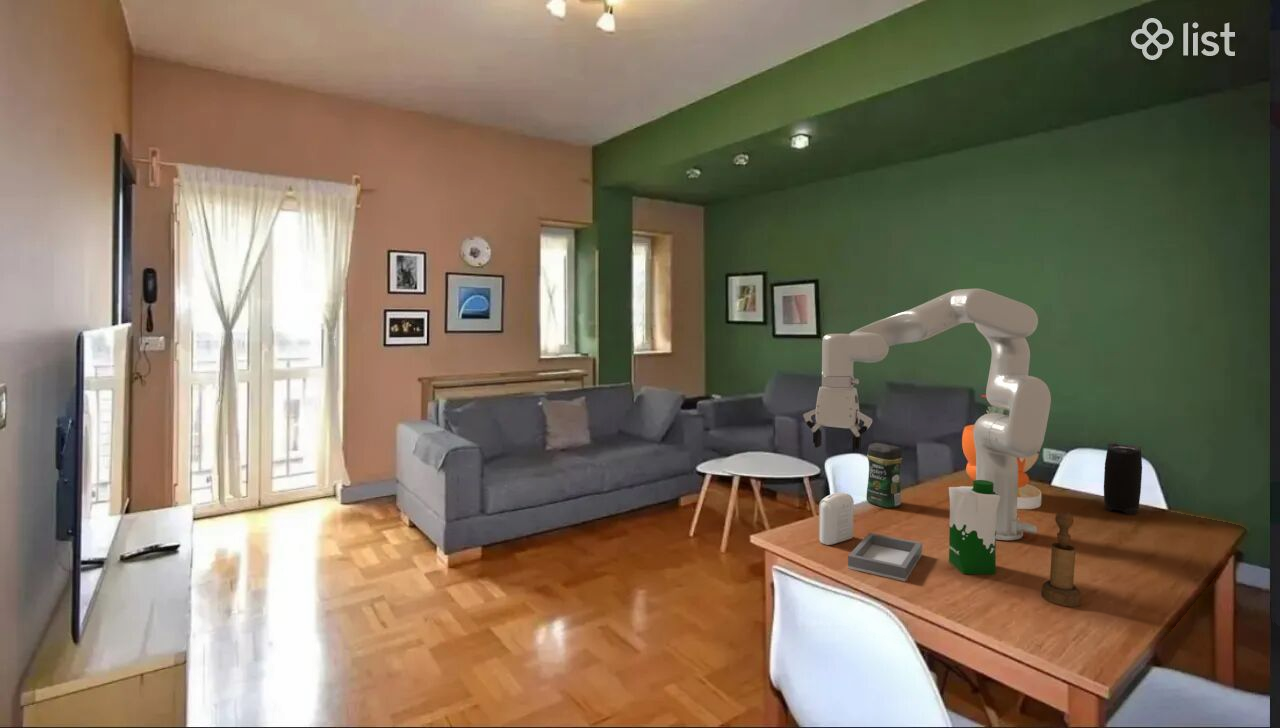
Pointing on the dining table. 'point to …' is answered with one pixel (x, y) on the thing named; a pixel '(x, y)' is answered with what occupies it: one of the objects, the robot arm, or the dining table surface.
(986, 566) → the milk carton
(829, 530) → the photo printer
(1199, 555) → the dining table surface
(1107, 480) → the portable speaker
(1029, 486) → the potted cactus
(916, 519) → the dining table surface
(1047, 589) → the mortar and pestle
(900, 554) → the tray
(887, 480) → the coffee jar
